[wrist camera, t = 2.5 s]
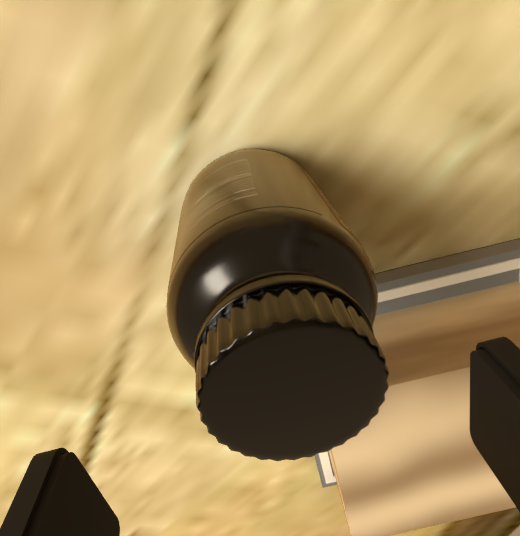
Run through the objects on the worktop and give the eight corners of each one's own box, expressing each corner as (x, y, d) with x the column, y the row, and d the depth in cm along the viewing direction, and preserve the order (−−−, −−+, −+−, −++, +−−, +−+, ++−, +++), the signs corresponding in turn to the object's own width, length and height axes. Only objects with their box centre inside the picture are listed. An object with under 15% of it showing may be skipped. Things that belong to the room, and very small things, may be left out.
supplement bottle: (187, 278, 22) (159, 497, 11) (176, 146, 19) (123, 279, 8) (316, 274, 22) (404, 478, 12) (327, 144, 19) (461, 268, 9)
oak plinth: (301, 333, 23) (321, 401, 18) (516, 281, 22) (589, 338, 18) (332, 467, 29) (353, 543, 24) (504, 427, 28) (556, 498, 24)
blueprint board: (274, 298, 23) (276, 309, 22) (525, 236, 22) (539, 245, 21) (319, 475, 30) (323, 489, 30) (507, 431, 30) (517, 444, 29)
